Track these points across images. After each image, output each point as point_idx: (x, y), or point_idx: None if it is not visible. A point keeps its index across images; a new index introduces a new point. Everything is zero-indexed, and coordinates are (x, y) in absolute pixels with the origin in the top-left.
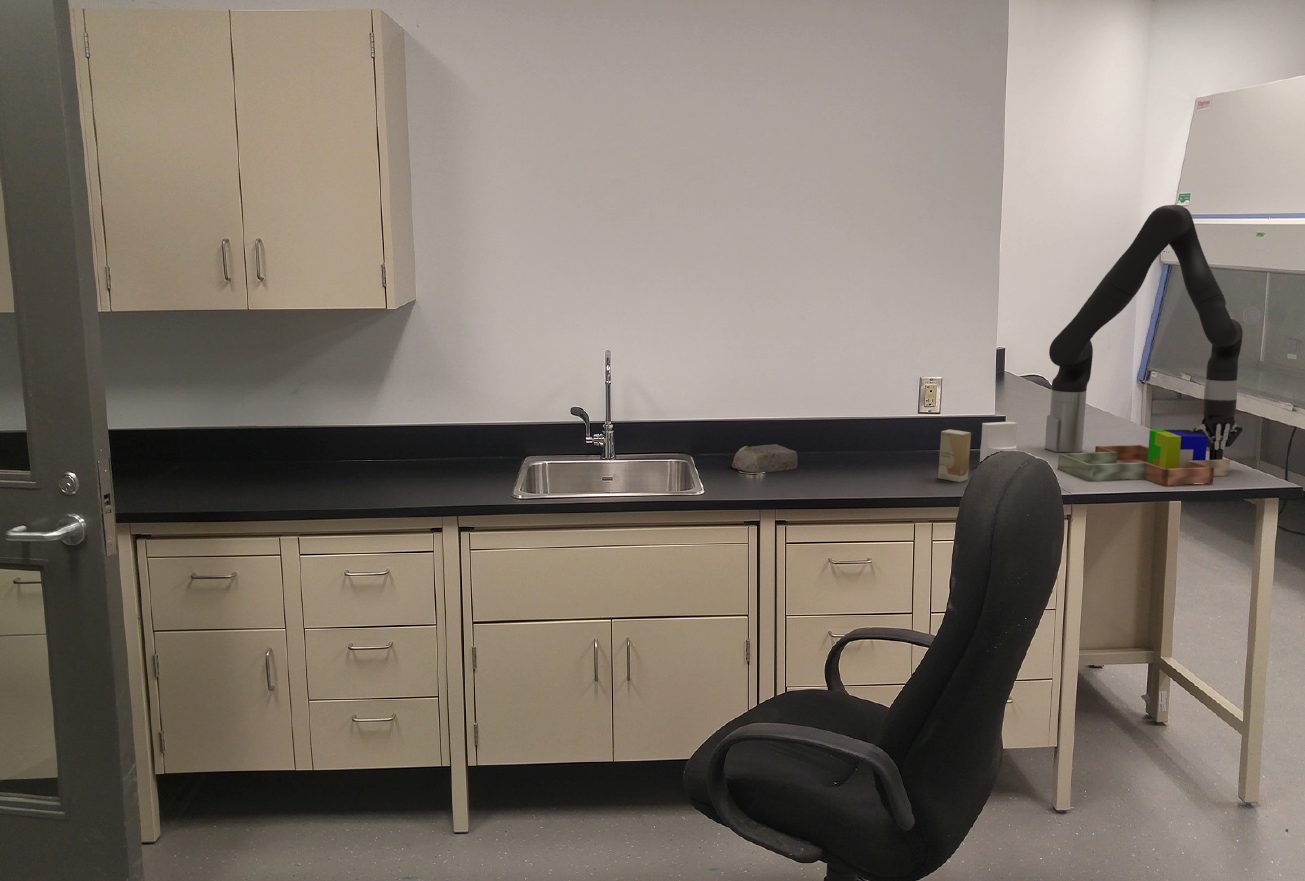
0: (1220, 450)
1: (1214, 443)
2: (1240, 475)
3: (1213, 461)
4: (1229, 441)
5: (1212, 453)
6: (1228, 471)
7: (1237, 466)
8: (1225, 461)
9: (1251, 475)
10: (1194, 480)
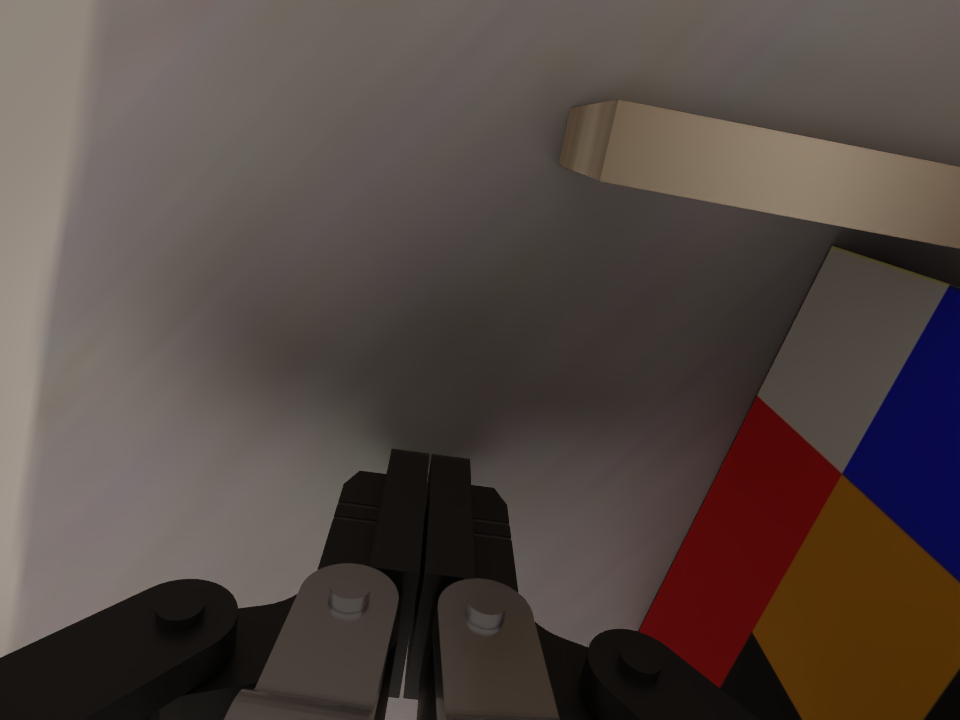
0: (394, 563)
1: (546, 693)
2: (390, 67)
3: (940, 167)
4: (147, 669)
5: (514, 573)
6: (582, 109)
7: (27, 505)
8: (703, 116)
9: (236, 8)
10: None
